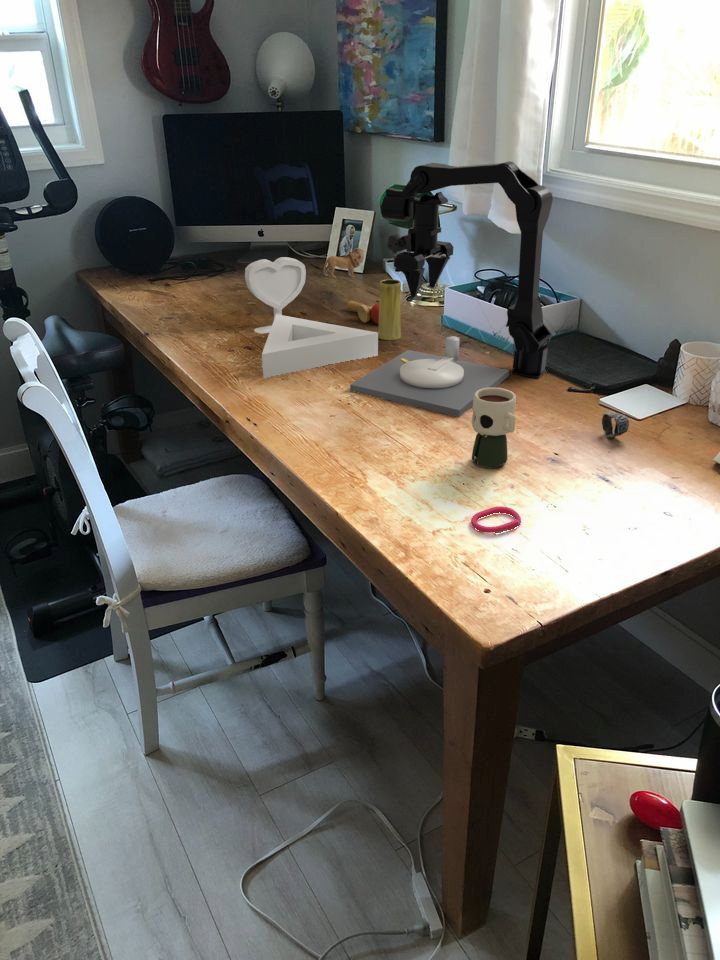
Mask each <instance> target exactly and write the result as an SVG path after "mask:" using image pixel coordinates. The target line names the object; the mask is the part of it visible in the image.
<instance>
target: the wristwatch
mask: <svg viewBox="0 0 720 960" xmlns="http://www.w3.org/2000/svg"><path fill="white" fill-rule="evenodd" d="M612 419H614V421H615V426H613V421H612ZM601 425H602V430H603V431H604V436H605V437H606V438H615V437H619V436H621V435H623V434H625V433H627V432H628V430H629V426H630V421H629V419H628V417H626V415H625V414H623V413H620V414H619V413H617V412H615V411H612V412H611V411H610V412H606V413H604V414H603V415H602V418H601ZM614 427H615V428H614Z"/></svg>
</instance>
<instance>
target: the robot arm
mask: <svg viewBox="0 0 720 960" xmlns="http://www.w3.org/2000/svg"><path fill="white" fill-rule="evenodd" d="M484 184H485V185H489V184H499V185H500V186H501V188H502V189H503V191H504V193H505V194H506V196H507V198H508V199H509V200H510V201H511V202H512V203H513V204H514V206H515V207H514V209H515V216H516V217H515V218H516V222H517V225H518V228H519V231H520V248H519V263H518V265H519V266H518V278H517V279H518V281H517V295H516V296H517V298H516V302H515V303H514V304H513V305H511V306H510V307H508V308H507V310H506V315H507V322H506V324H505V327H506V328H508V334H509V336H510V337H511V338H512V340H513V342H514V346H515V350H514V351H513V358H512V359H513V360H512V370H511V374H515V375H520V376H524V377H527V378H533V379H539V378H540V377H541V376H543V375H544V374H545V373H546V372H547V371H546V369H545V367H546V368H547V357H548V349H549V346H548V345H546V344H549V342H550V341H551V339H552V337H553V334H552V332H551V331H550V330H549V329H548V327H547V326H546V325H545V323H544V316H543V315H544V314H543V308H542V305H541V302H540V299H539V291H540V278H541V264H542V263H541V262H542V248H543V234H544V230H545V227H546V225H547V222H548V219H549V217H550V213H551V208H552V205H553V201H554V200H553V193H552V191H550V189H549V188H548V187H546V186H544V185H542V184H541V185H540V184H539V183H538V181H536V180H535V179H534V178H533V177H532V176H530V175H529V174H527V173H526V172H524V171H523V170H522V169H521V168H520V167H519V166H518V165H517V164H516V163H515V162H513V161H504V162H500V163H488V164H474V165H462V166H461V165H460V166H456V165H455V166H454V165H450V164H445V163H437V162H429V163H425V164H422V165H417V166H415V167H414V168H413V169H412V171H411V173H410V177H409V180H408V182H407V184H406V185H405V186H404V188H403V189H397V188H395V187H394V188H393V187H390V188H386V189H385V195H384V197H383V198H382V201H381V204H380V214H381V217H382V218H383V219H384V220H390V221H400V222H409V221H410V220H411V219H412V227H409V228H408V230H407V234H406V235H403V236H400V235H399V234H397V233H395V234H392V235H390V236H388V239H387V246H386V248H387V249H389V250H390V251H391V253H392V254H393V255H394V254H396V255H395V256H394V258H393V267H394V268H396V270H398V271H400V272H402V274H403V275H404V277H405V279H406V283H407V286H408V290H409V293H410V295H411V297H417V295H418V292H419V289H420V285H421V282H422V278H423V276H424V273H425V269H426V268H425V267H424V266H425V264H426V263H427V266H428V269H427V270H428V283H429V287H430V288H435V287H436V285H437V283H438V281H439V279H440V277H441V275H442V273H443V271H444V269H445V267H446V266H447V264H448V262H449V260H450V259H451V256H454V246H453V244H452V243H451V242H449V241H440V240H438V237H439V236H438V234H440V233H442V227H439V207H440V206H442V205H444V204H447V203H449V200H448V198H447V196H445V195H444V194H443V192H442V191H438V192H435V194H428V193H429V192H432V191H437V190H440V189H444V188H448V187H453V186H467V185H468V186H469V185H470V186H471V185H484ZM425 193H427V194H425ZM422 194H423V195H422ZM419 195H422V196H421V197H416V196H419ZM405 250H406V251H405ZM398 252H400V253H398ZM397 253H398V254H397Z"/></svg>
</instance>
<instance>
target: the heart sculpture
mask: <svg viewBox="0 0 720 960" xmlns="http://www.w3.org/2000/svg"><path fill="white" fill-rule="evenodd" d="M306 275H307V271H306V266H305V264H304V263H303V262H302V261H300V260H298V259H296V258H292V257H288V256H287V257H286V256H285V257H284V256H283V257H282V256H281V257H278V258H277V259H275V260H274V261H271V260H268V259H266V258H264V259H258V260H256V261H253V262H251V263H249V264H248V265H247V266H246V267H245V269H244V279H245V283H246V287H247V288H248V290H249V291H250V292H251V294H252V295H253V296H254V297H256V298H257V299H259V301H262V302H263V303H264V304H265V305H268V306H269V307H271V308H273V320H274V319H275V316H276V314H278V315H283V312H282V311H283V309H284V308H285V307H286V306H287V305H289V304H290V303H292V302H293V301H294V300H295V298H296V297H298V295H300V293H301V292H302V289H303V287H304V286H305V283H306V277H307V276H306ZM271 327H272V324H271V325H266V326H260V327H256V328H254V330H253V331H254V332H255V333H257V334H262V335H263V334H269V333H270V330H271Z"/></svg>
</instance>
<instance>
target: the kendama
mask: <svg viewBox="0 0 720 960" xmlns="http://www.w3.org/2000/svg"><path fill="white" fill-rule="evenodd" d="M346 308H347V310H348V311H349V312H356V313H357V315H358V318H359V319H360V321H361V322H362V323H369V322H370V321H371V320H372V321H373V322H374V323H375V324H376V325H379V299H377V300H376V301H375V303H373V304H372V305H370V306H369V305H367V304H363V303H360V302H358V301H355V300H350V301H348V302H347V304H346Z"/></svg>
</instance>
